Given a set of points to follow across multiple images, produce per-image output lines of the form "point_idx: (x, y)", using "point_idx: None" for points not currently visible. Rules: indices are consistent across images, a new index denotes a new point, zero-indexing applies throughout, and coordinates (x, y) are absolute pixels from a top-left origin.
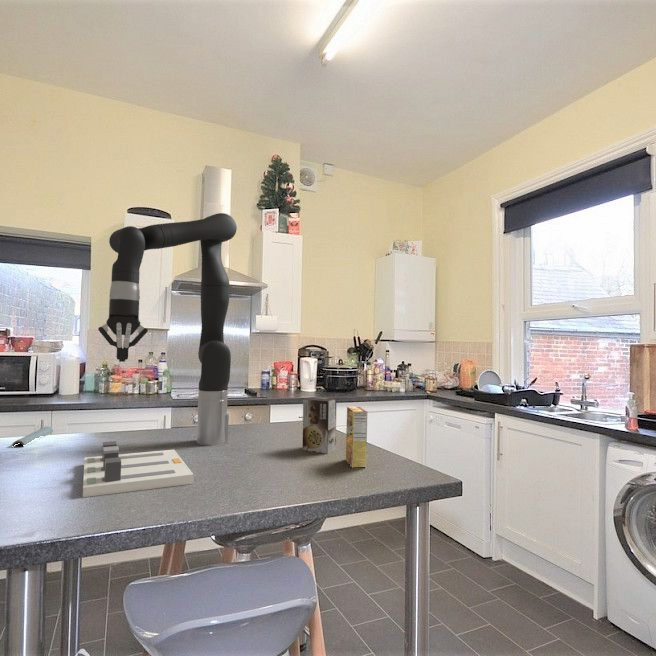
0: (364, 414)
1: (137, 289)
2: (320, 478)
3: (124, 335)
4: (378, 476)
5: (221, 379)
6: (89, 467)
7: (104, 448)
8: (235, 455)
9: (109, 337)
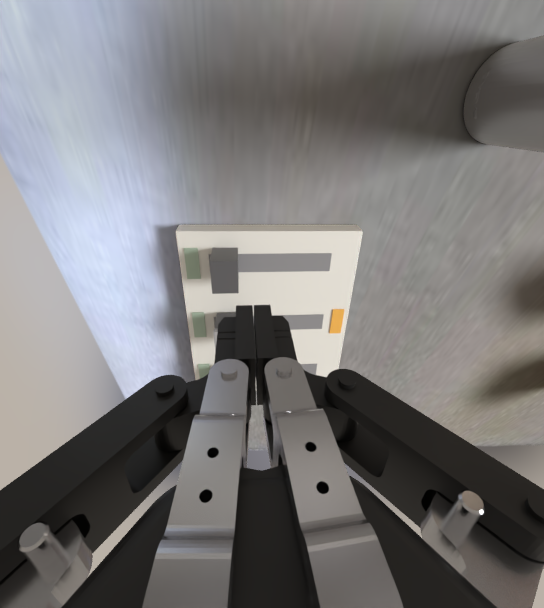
0: None
1: None
2: (477, 398)
3: (282, 444)
4: (534, 411)
5: None
6: (195, 314)
7: (215, 341)
8: (470, 249)
9: (138, 494)
